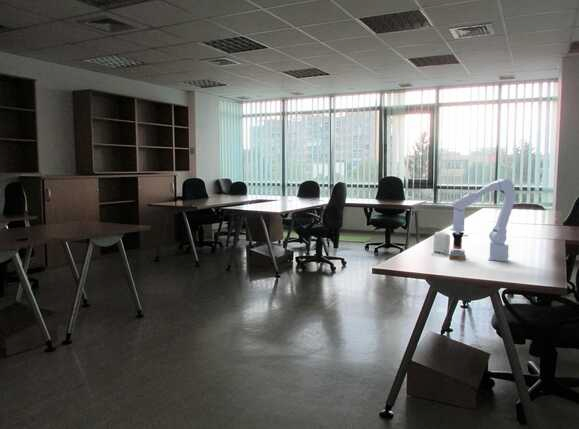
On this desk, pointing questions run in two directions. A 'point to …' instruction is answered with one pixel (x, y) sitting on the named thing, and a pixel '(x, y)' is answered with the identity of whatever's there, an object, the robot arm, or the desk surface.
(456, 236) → the robot arm
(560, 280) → the desk surface
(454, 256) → the walnut slab
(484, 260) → the desk surface
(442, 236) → the photo printer
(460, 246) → the red block
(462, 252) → the grey slab
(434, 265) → the desk surface
